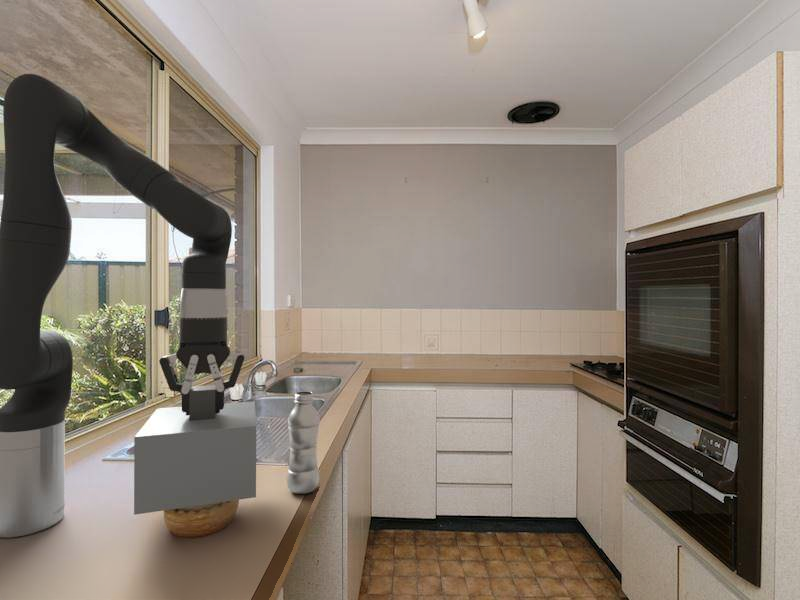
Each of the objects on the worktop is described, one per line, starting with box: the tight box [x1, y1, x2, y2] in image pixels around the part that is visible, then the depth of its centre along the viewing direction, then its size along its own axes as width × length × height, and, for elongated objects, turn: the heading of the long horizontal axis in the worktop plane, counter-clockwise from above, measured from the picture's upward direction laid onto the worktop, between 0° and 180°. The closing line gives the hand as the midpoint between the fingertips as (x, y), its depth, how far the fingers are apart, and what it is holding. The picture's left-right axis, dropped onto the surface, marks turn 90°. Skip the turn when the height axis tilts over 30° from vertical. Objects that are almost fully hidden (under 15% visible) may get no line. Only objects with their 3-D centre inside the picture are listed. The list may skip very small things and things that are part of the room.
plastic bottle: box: [286, 390, 321, 495], centre depth 87 cm, size 6×7×20 cm
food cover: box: [133, 384, 257, 515], centre depth 74 cm, size 17×17×17 cm
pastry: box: [162, 500, 240, 539], centre depth 75 cm, size 12×12×9 cm
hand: (203, 412), depth 74 cm, fingers closed on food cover, 4 cm apart
